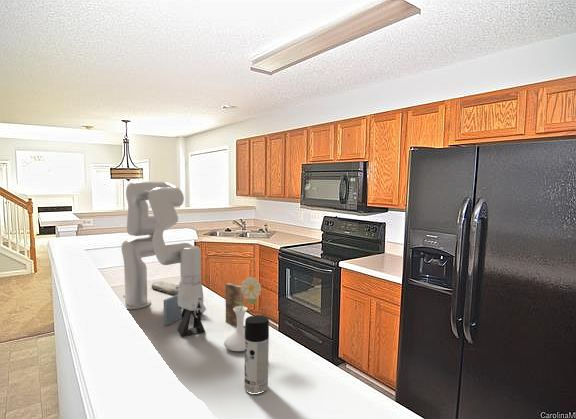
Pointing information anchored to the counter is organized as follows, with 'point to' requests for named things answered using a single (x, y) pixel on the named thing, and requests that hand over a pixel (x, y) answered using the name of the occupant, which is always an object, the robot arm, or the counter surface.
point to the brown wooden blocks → (232, 301)
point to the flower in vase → (242, 314)
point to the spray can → (256, 353)
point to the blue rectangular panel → (171, 310)
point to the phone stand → (184, 325)
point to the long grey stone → (166, 287)
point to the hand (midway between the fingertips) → (191, 324)
